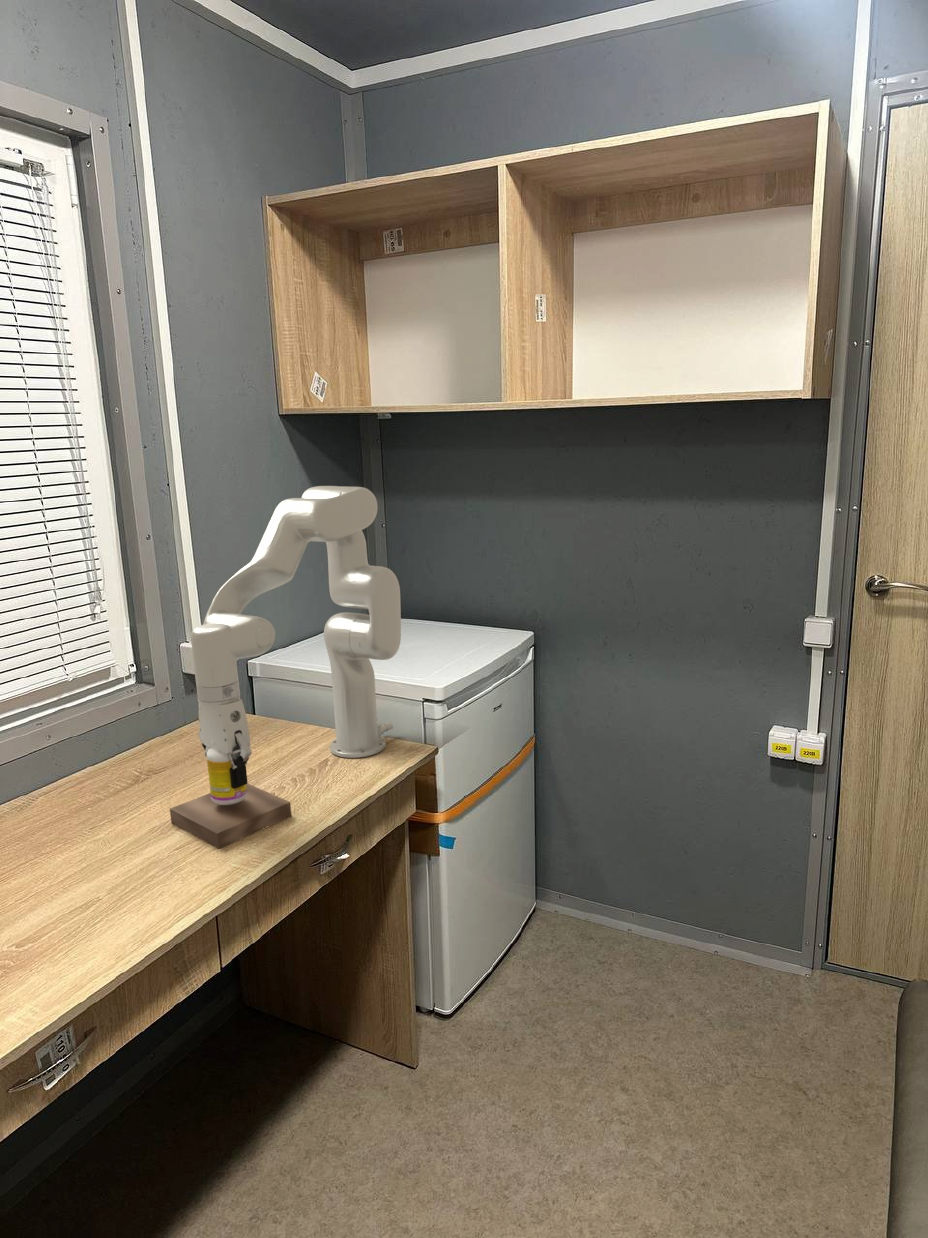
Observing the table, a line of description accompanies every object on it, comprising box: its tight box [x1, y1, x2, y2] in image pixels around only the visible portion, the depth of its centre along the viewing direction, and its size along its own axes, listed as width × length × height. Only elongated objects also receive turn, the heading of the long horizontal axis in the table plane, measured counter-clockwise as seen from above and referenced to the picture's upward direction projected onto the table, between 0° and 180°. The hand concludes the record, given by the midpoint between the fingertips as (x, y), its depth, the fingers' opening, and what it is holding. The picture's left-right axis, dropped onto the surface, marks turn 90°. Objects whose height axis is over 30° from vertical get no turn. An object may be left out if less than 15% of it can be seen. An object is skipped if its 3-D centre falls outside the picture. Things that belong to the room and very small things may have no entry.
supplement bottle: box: [206, 739, 247, 805], centre depth 163 cm, size 7×7×13 cm
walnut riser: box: [169, 782, 292, 850], centre depth 166 cm, size 16×16×3 cm
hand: (228, 780), depth 164 cm, fingers closed on supplement bottle, 6 cm apart
